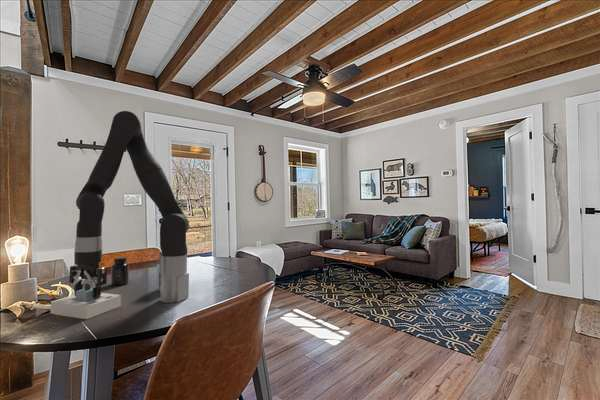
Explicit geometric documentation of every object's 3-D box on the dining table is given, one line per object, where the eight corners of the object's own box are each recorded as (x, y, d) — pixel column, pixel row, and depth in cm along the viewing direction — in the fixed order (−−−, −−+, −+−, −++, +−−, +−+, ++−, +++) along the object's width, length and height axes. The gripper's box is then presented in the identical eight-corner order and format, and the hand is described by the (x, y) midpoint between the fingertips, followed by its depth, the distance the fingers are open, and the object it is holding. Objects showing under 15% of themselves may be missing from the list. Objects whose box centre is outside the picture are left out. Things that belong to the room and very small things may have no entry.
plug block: (98, 308, 96) (99, 282, 97) (85, 313, 92) (86, 286, 92) (88, 307, 98) (89, 281, 98) (75, 311, 93) (76, 285, 94)
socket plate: (120, 306, 99) (120, 294, 99) (86, 319, 87) (87, 306, 87) (87, 301, 103) (87, 290, 103) (50, 313, 91) (50, 301, 91)
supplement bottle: (132, 282, 130) (132, 256, 130) (121, 286, 123) (121, 259, 123) (118, 281, 130) (119, 256, 131) (107, 285, 123) (107, 259, 124)
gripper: (114, 249, 97) (113, 295, 97) (84, 247, 101) (83, 291, 101) (93, 252, 90) (92, 302, 90) (61, 250, 94) (60, 298, 93)
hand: (87, 296), depth 95 cm, fingers open, 8 cm apart
